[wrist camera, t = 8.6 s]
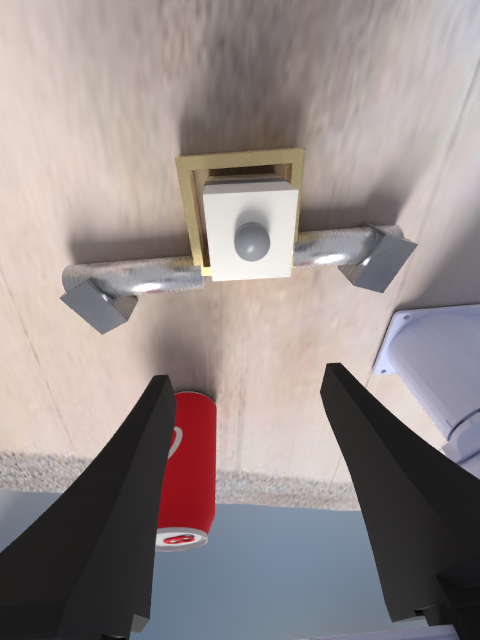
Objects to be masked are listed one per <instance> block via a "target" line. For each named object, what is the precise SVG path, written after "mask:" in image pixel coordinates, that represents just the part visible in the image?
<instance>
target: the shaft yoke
mask: <svg viewBox="0 0 480 640" xmlns="http://www.w3.org/2000/svg"><path fill="white" fill-rule="evenodd" d="M304 151H305V148H296V147H294V148H280V149H266V150H252V151H238V152H224V153H211V154H197V155H183V156H178V157H176V158H175V161H176V167H177V172H178V178H179V183H180V189H181V195H182V200H183V206H184V211H185V217H186V222H187V228H188V234H189V239H190V245H191V250H192V256H180V257H167V258H154V259H142V260H129V261H116V262H103V263H90V264H78V265H68V266H66V267H65V269H64V271H63V274H62V282H63V286H64V289H65V291H66V292H65V293H64V294H63V295H62V296H61V297H60V299H61V300H62V301H63V302H64V303H65V304H67V305H68V306H69V307H70V308H71V309H73V310H74V311H75V312H76V313H77V314H78V315H80V316H81V317H82V318H83V319H84V320H85V321H87V322H88V323H89V324H90V325H91V326H92V327H94V328H95V329H96V330H97V331H98V332H100V333H101V334H102V335H103V334H105V333H106V332H108V331H110V330H112V329H114V328H116V327H118V326H119V325H121V324H123V323H125V322H127V321H128V319H129V317H130V315H131V313H132V312H133V310H134V308H135V306H136V304H137V302H138V300H137V299H136V297H135V296H134V295H144V294H156V293H169V292H181V291H194V290H205V289H206V276H208V275H212V273H211V264H210V256H205V250H204V243H203V236H202V230H201V223H200V216H199V209H198V202H197V196H196V189H195V182H194V175H193V170H204V169H218V168H231V167H245V166H259V165H273V164H284V178H285V179H286V180H287V182H288V183H289V184H291V185H292V186H294V187H295V188H297V189H298V201H297V211H296V222H295V232H294V243H293V254H292V264H291V269H301V268H313V267H326V266H338V265H340V266H339V267H338V269H339V270H340V271H341V272H342V273H343V274H344V275H345V276H346V278H347V279H348V280H349V281H350V282H351V283H352V284H353V285H354V286H357V287H361V288H365V289H369V290H372V291H376V292H380V293H383V292H384V291H385V289H386V288H387V287H388V285H389V284H390V283H391V281H392V280H393V278H394V277H395V276H396V274H397V273H398V271H399V270H400V269H401V267H402V266H403V264H404V263H405V262H406V260H407V259H408V258H409V256H410V255H411V253H412V252H413V251H414V249H415V248H416V246H417V245H418V244H416V243H414V242H412V241H410V240H408V239H407V238H405V237H404V235H403V231H402V229H401V228H400V227H399V226H398V225H384V226H376V225H373V224H370V223H367V222H364V223H363V225H362V227H358V228H345V229H332V230H320V231H307V232H298V225H299V213H300V200H301V188H302V176H303V163H304Z"/></svg>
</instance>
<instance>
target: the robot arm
mask: <svg viewBox="0 0 480 640" xmlns="http://www.w3.org/2000/svg"><path fill="white" fill-rule="evenodd" d="M405 315H406V316H405ZM404 316H405V317H404ZM372 371H373V373H374V374H375V375H381V374H392V373H397V374H398V375H399V377H400V378H401V379H402V381H403V382H404V383H405V385H406V386H407V387H408V389H409V390H410V391H411V393H412V394H413V395H414V397H415V398H416V400H417V401H418V402H419V404H420V405H421V406H422V408H423V409H424V410H425V412H426V413H427V414H428V416H429V417H430V418H431V420H432V421H433V422H434V424H435V425H436V426H437V428H438V429H439V430H440V432H441V433H442V434H443V436H444V437H445V438H446V440H447V441H448V443H447V444H446V445H444V446H443V447H442V450H443V451H444V453H445V454H446V456H447V457H446V456H445V455H443V454H442V453H441V452H439V451H438V450H436V449H435V448H434V447H432V446H431V445H430V444H428V443H427V442H426V441H425V440H423V439H422V438H421V437H419V436H418V435H417V434H416V433H414V432H413V431H412V430H411V429H409V428H408V427H407V426H406V425H405V424H404V423H402V422H401V421H400V420H399V419H398V418H397V417H395V416H394V415H393V414H392V413H391V412H390V411H389V410H388V409H387V408H385V407H384V406H383V405H382V404H381V403H380V402H379V401H378V400H377V399H376V398H375V397H374V396H373V395H372V394H371V393H370V392H369V391H368V390H367V389H366V388H365V387H364V386H363V385H362V384H361V383H360V382H359V381H358V380H357V379H356V378H355V377H354V376H353V375H352V374H351V373H350V372H349V371H348V370H347V369H346V368H345V367H344V366H343V365H342V364H341V363H328V364H327V365H326V369H325V374H324V378H323V382H322V386H321V390H320V394H321V398H322V401H323V405H324V408H325V412H326V415H327V417H328V420H329V422H330V425H331V427H332V430H333V432H334V435H335V437H336V439H337V442H338V444H339V447H340V449H341V452H342V454H343V456H344V459H345V461H346V464H347V467H348V469H349V472H350V475H351V478H352V481H353V484H354V488H355V491H356V494H357V497H358V501H359V504H360V507H361V511H362V514H363V518H364V521H365V524H366V528H367V532H368V536H369V540H370V543H371V547H372V551H373V554H374V558H375V562H376V567H377V570H378V575H379V579H380V583H381V587H382V591H383V596H384V600H385V604H386V606H387V610H388V612H389V615H390V618H391V620H392V622H400V621H401V622H402V621H412V620H423V619H426V620H427V623H428V625H429V627H419V628H409V629H399V630H389V631H378V632H367V633H358V634H347V635H336V636H326V637H315V638H305V639H294V640H480V304H476V305H464V306H452V307H440V308H428V309H416V310H404V311H398V312H396V313H395V314H394V315H393V317H392V320H391V323H390V325H389V328H388V330H387V333H386V336H385V338H384V341H383V344H382V346H381V349H380V351H379V354H378V357H377V359H376V362H375V364H374V367H373V370H372ZM176 408H177V401H176V398H175V395H174V392H173V388H172V385H171V382H170V379H169V376H168V375H157V376H154V377H153V378H152V380H151V381H150V383H149V384H148V386H147V388H146V389H145V391H144V392H143V394H142V396H141V397H140V399H139V400H138V402H137V403H136V405H135V406H134V408H133V409H132V411H131V412H130V413H129V415H128V416H127V418H126V419H125V421H124V422H123V423H122V425H121V426H120V427H119V429H118V430H117V431H116V433H115V434H114V435H113V437H112V438H111V439H110V441H109V442H108V443H107V445H106V446H105V447H104V448H103V449H102V451H101V452H100V453H99V454H98V456H97V457H96V458H95V459H94V460H93V461H92V463H91V464H90V465H89V466H88V467H87V468H86V469H85V471H84V472H83V473H82V474H81V475H80V476H79V477H78V478H77V479H76V480H75V481H74V483H73V484H72V485H71V486H70V487H69V488H68V489H67V490H66V491H65V492H64V493H63V494H62V495H61V496H60V497H59V498H58V500H56V501H55V502H54V503H53V504H52V505H51V506H50V507H49V508H48V509H47V510H46V511H45V512H44V513H43V514H42V515H41V516H40V517H39V518H38V519H37V520H36V521H35V522H34V523H33V524H32V525H31V526H30V527H28V528H27V529H26V530H25V531H24V532H23V533H22V534H21V535H20V536H19V537H18V538H17V539H16V540H14V541H13V542H12V543H11V544H10V545H9V546H7V547H6V548H5V549H4V550H3V551H2V552H1V553H0V640H129V637H130V634H133V633H140V632H141V631H142V630H143V628H144V627H145V626H146V624H147V623H148V621H149V620H150V606H151V593H152V579H153V567H154V556H155V545H156V535H157V526H158V517H159V508H160V500H161V492H162V485H163V479H164V474H165V470H166V465H167V460H168V455H169V451H170V446H171V441H172V436H173V432H174V427H175V419H176Z"/></svg>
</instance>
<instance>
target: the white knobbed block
mask: <svg viewBox="0 0 480 640" xmlns="http://www.w3.org/2000/svg"><path fill="white" fill-rule="evenodd" d="M297 201H298V189H297V188H295V187H294V186H292V185H291V184H289V183H288V182H287V180H286V179H285V178H283V177H282V178H280V177H279V176H277V175H276V174H275V173H266V174H246V175H225V176H208V179H207V181H205V189H204V192H203V203H204V211H205V220H206V229H207V238H208V247H209V256H210V264H211V273H212V281H226V280H243V279H260V278H276V277H290V275H291V264H292V254H293V243H294V232H295V222H296V211H297Z"/></svg>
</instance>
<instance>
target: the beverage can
mask: <svg viewBox="0 0 480 640" xmlns="http://www.w3.org/2000/svg"><path fill="white" fill-rule="evenodd" d="M174 395H175V398H176V401H177V408H176V419H175V427H174V432H173V436H172V441H171V446H170V451H169V455H168V460H167V465H166V470H165V474H164V479H163V485H162V492H161V500H160V508H159V517H158V526H157V535H156V545H155V551H162V552H173V551H184V550H190V549H194V548H198V547H201V546H203V545H204V544H206V543H207V540H208V533H209V530H210V527H211V525H212V522H213V520H214V516H215V477H216V413H217V408H216V405H215V403H214V402H213V401H212V400H211V399H210V398H209V397H207V396H205V395H203V394H201V393H198V392H193V391H183V392H178V393H175V394H174Z"/></svg>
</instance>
